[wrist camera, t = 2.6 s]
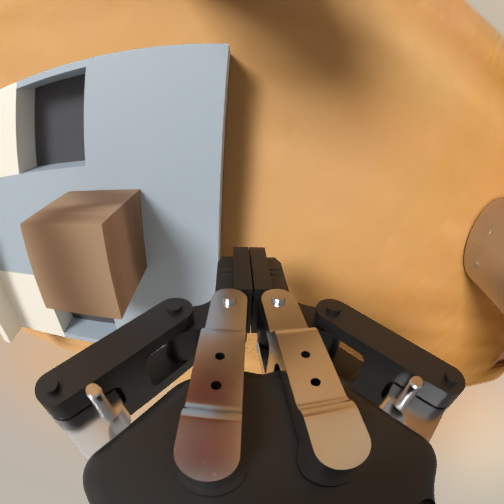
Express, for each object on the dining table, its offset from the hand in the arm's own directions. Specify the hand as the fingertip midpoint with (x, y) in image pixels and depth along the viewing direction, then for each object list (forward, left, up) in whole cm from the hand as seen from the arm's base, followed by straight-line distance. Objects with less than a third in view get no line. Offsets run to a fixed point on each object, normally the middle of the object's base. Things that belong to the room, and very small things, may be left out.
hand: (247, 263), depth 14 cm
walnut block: (+9, 0, -3) cm, 9 cm away
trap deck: (+12, 0, -5) cm, 13 cm away
